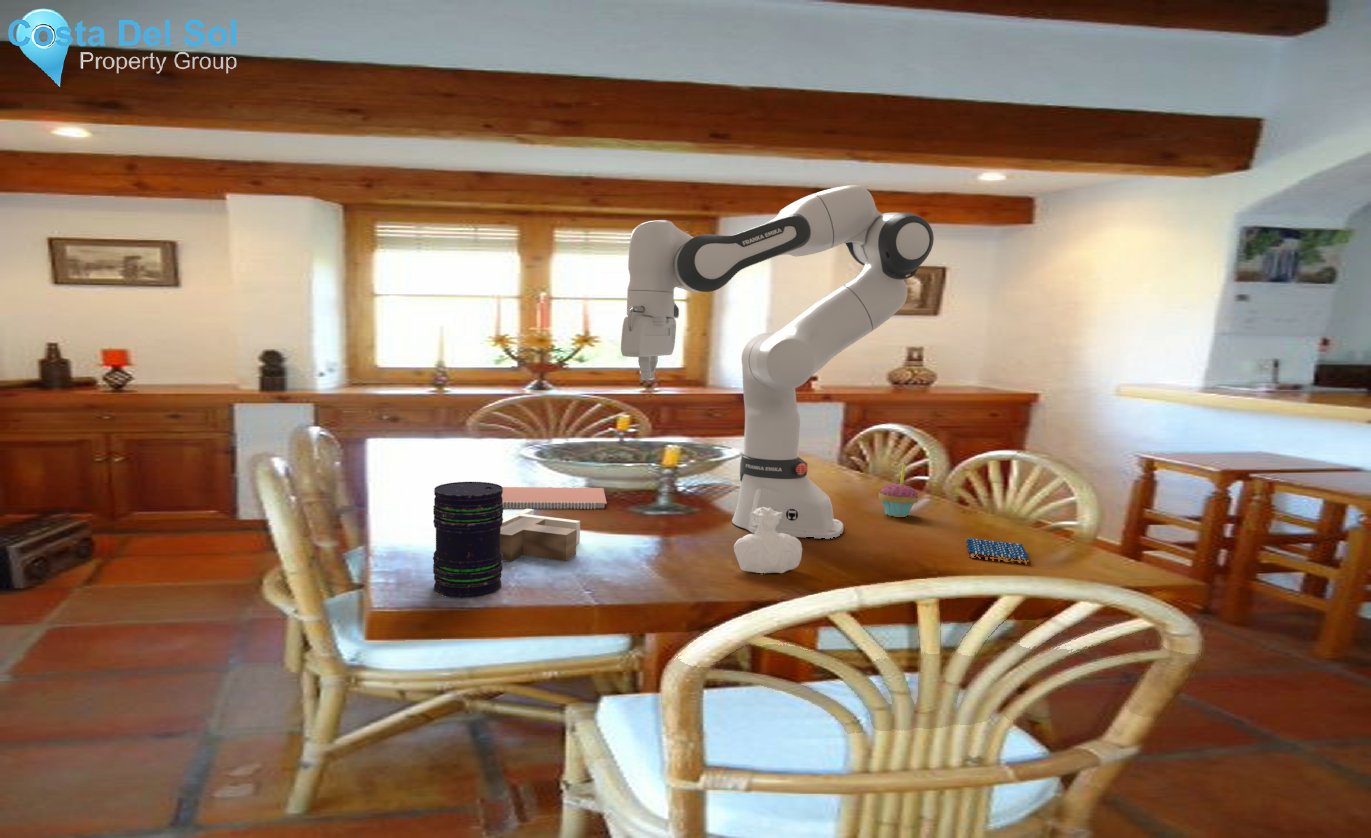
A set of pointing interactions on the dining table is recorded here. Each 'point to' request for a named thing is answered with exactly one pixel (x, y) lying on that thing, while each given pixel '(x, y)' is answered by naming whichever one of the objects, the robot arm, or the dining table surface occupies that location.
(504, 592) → the dining table surface
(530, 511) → the corner fence
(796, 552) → the bust
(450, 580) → the rusty oil barrel
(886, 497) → the cupcake
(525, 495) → the notebook
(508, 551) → the t block
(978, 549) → the woven mat
